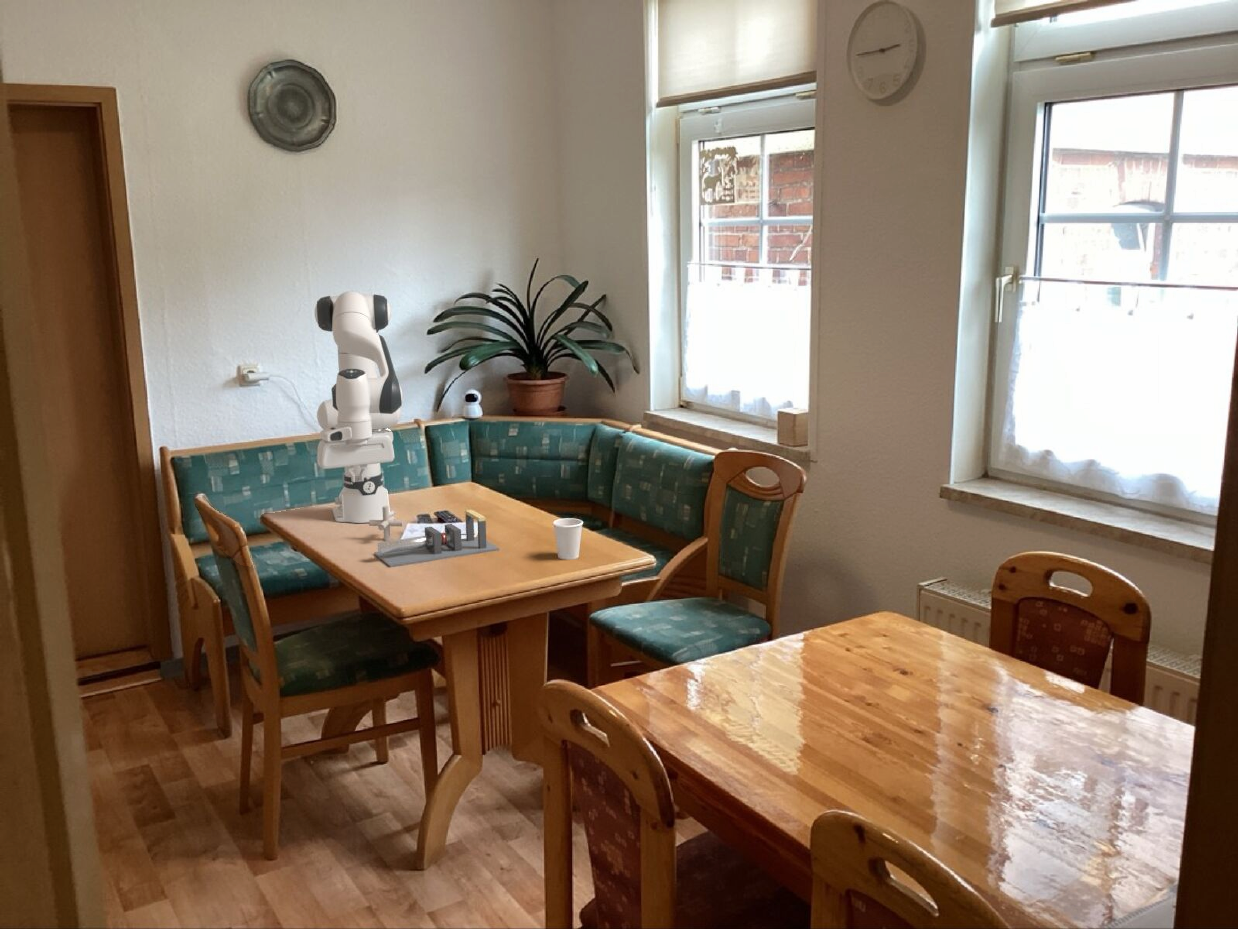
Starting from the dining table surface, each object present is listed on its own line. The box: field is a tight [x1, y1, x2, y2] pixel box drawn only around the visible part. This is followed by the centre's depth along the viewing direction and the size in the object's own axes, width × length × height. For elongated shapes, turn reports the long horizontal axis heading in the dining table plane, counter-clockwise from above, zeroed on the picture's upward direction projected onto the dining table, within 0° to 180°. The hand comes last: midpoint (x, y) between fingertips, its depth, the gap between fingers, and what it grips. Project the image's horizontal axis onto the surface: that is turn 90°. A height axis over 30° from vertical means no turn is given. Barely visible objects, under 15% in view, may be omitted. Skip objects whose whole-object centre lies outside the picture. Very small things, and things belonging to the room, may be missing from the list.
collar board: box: [373, 509, 500, 568], centre depth 302 cm, size 14×32×10 cm, turn 120°
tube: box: [377, 532, 450, 554], centre depth 299 cm, size 4×20×4 cm, turn 120°
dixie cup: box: [552, 517, 584, 561], centre depth 297 cm, size 8×8×10 cm
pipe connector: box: [368, 505, 405, 541], centre depth 315 cm, size 10×10×10 cm
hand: (357, 481), depth 288 cm, fingers closed
